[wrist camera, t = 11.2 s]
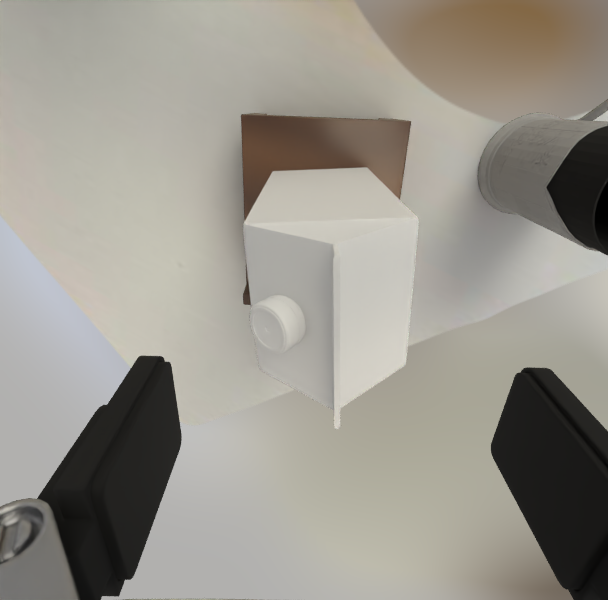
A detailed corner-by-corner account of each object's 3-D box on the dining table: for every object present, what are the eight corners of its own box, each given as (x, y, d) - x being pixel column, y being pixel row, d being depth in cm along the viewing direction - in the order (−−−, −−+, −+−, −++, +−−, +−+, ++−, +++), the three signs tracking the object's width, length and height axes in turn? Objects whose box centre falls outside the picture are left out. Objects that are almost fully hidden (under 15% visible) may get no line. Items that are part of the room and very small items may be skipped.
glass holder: (458, 185, 36) (547, 231, 23) (572, 23, 31) (780, -45, 17) (529, 229, 38) (652, 296, 24) (650, 83, 32) (893, 65, 19)
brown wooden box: (253, 113, 34) (236, 114, 26) (391, 118, 34) (418, 122, 26) (256, 264, 40) (243, 304, 32) (373, 269, 40) (390, 310, 32)
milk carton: (367, 166, 29) (454, 250, 12) (364, 257, 32) (430, 427, 15) (271, 170, 29) (220, 258, 12) (278, 260, 32) (245, 431, 15)
